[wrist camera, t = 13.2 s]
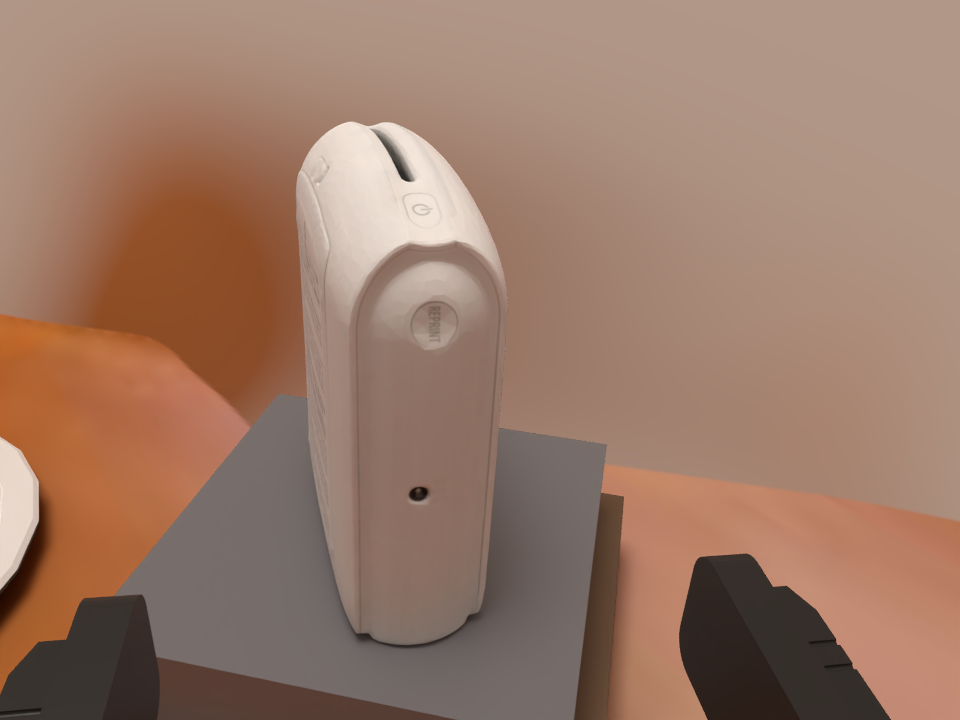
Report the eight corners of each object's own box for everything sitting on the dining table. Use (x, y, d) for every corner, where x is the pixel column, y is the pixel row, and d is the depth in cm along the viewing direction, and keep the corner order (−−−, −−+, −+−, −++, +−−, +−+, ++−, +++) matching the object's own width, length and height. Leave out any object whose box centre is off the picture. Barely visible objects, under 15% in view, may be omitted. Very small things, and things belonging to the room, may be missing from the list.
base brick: (61, 808, 24) (41, 740, 23) (275, 494, 37) (270, 438, 36) (580, 934, 22) (594, 867, 20) (614, 553, 35) (623, 496, 33)
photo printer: (503, 636, 23) (543, 196, 17) (345, 667, 22) (328, 205, 16) (418, 430, 31) (425, 91, 25) (302, 444, 30) (280, 92, 24)
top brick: (97, 716, 23) (77, 640, 22) (283, 455, 35) (278, 393, 33) (558, 820, 21) (571, 743, 20) (597, 507, 33) (606, 444, 31)
